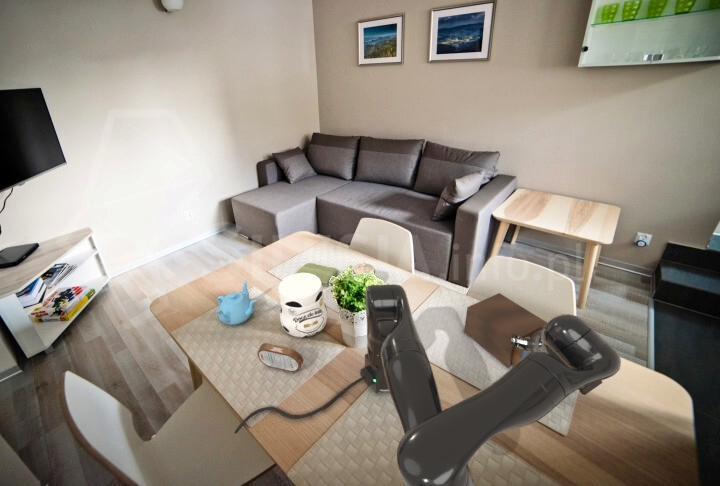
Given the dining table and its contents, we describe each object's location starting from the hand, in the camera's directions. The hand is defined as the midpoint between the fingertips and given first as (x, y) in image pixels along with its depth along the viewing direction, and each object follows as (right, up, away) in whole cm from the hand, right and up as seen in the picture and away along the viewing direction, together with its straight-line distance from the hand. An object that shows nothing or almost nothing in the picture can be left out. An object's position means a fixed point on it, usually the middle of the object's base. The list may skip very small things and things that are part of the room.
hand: (536, 348), depth 83 cm
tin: (-67, -15, +22) cm, 72 cm away
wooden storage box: (+5, -7, +25) cm, 26 cm away
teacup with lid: (-35, +4, +57) cm, 67 cm away
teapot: (-87, -6, +46) cm, 98 cm away
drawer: (+11, -12, +11) cm, 20 cm away
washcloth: (-57, +6, +66) cm, 87 cm away
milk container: (-60, -7, +39) cm, 72 cm away
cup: (0, -6, +1) cm, 6 cm away
